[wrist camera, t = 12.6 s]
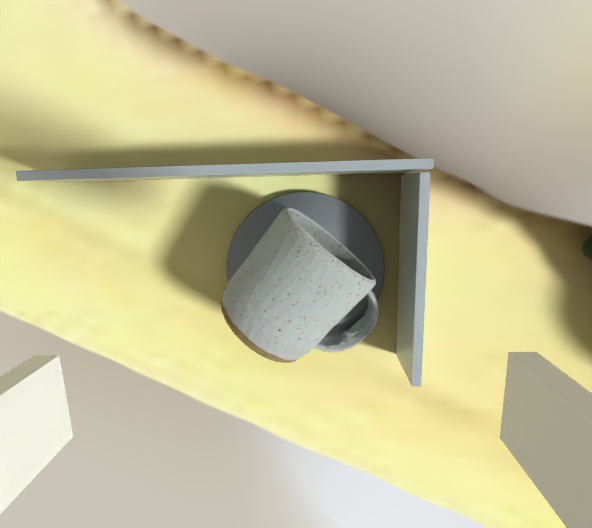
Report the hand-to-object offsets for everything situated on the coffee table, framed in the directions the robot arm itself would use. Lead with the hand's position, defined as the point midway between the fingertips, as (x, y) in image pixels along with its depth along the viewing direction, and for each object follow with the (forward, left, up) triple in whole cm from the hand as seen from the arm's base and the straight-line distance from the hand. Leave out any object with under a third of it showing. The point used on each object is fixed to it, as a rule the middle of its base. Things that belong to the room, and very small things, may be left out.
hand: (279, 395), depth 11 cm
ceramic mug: (+1, -1, -18) cm, 18 cm away
